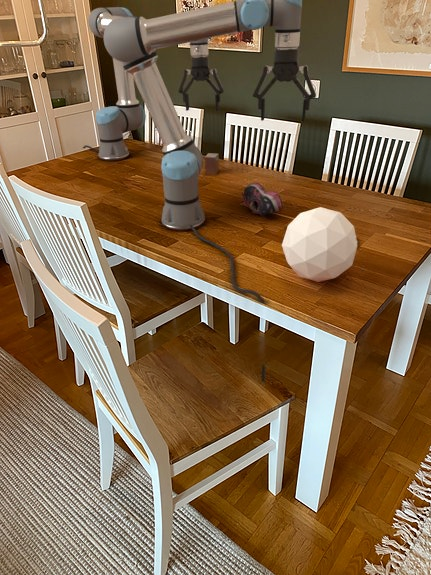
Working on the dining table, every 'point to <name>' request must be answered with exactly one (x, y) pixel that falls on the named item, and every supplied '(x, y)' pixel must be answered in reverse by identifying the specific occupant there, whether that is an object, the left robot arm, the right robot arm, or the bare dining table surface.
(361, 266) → the dining table surface
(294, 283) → the dining table surface
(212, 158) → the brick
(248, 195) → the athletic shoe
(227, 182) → the dining table surface
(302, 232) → the sphere
